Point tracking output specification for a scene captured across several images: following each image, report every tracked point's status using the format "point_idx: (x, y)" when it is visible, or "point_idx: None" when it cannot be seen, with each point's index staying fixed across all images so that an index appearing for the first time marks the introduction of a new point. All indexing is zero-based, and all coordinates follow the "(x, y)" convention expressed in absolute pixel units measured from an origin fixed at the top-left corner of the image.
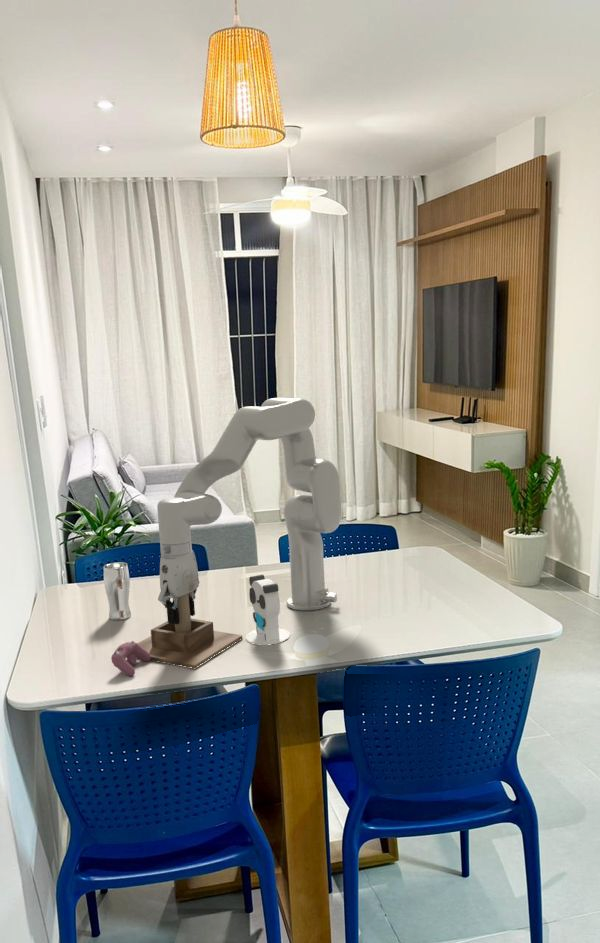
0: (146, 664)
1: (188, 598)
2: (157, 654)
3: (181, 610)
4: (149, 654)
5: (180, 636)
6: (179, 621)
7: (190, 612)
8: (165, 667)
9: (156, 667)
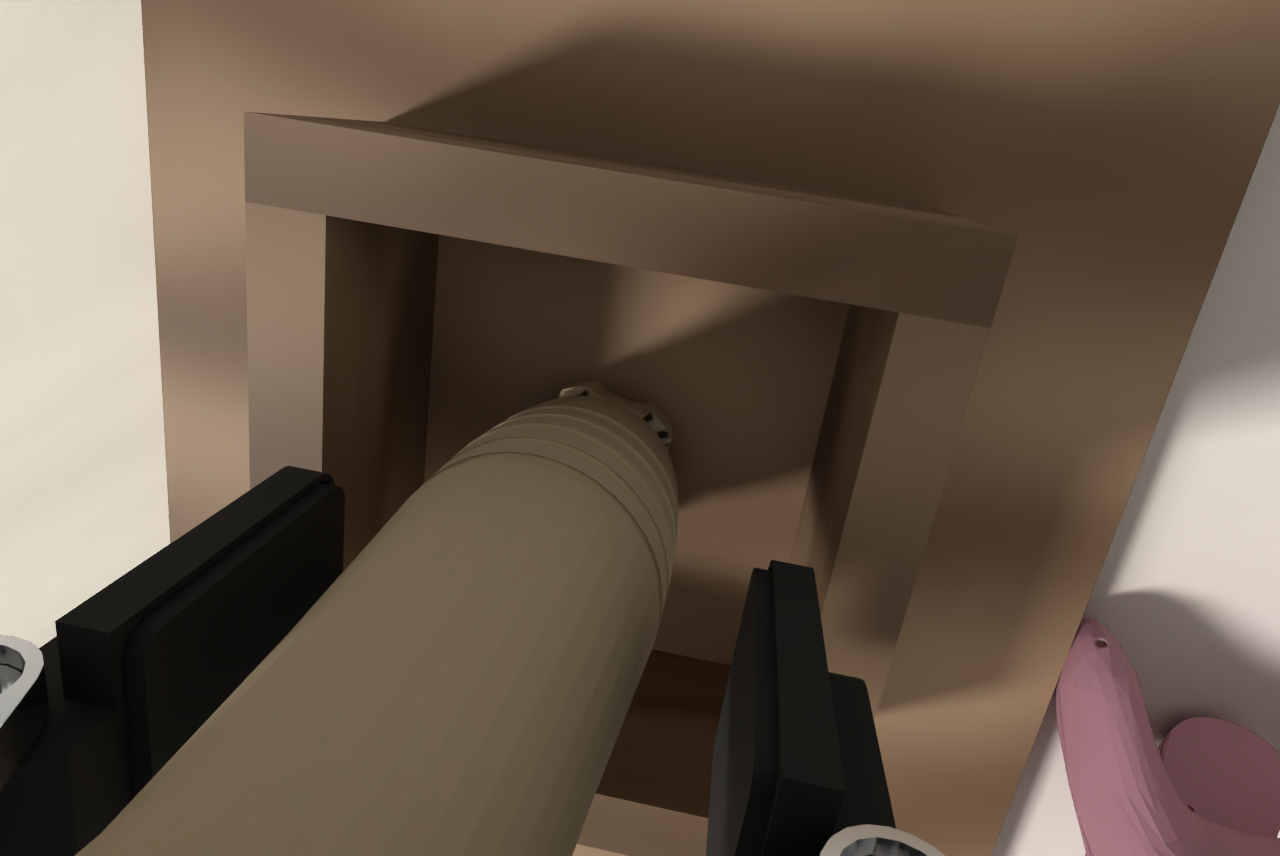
0: (1168, 610)
1: (208, 765)
2: (1002, 589)
3: (586, 690)
4: (1100, 658)
5: (966, 390)
6: (754, 574)
7: (312, 554)
8: (1249, 365)
9: (1253, 469)
